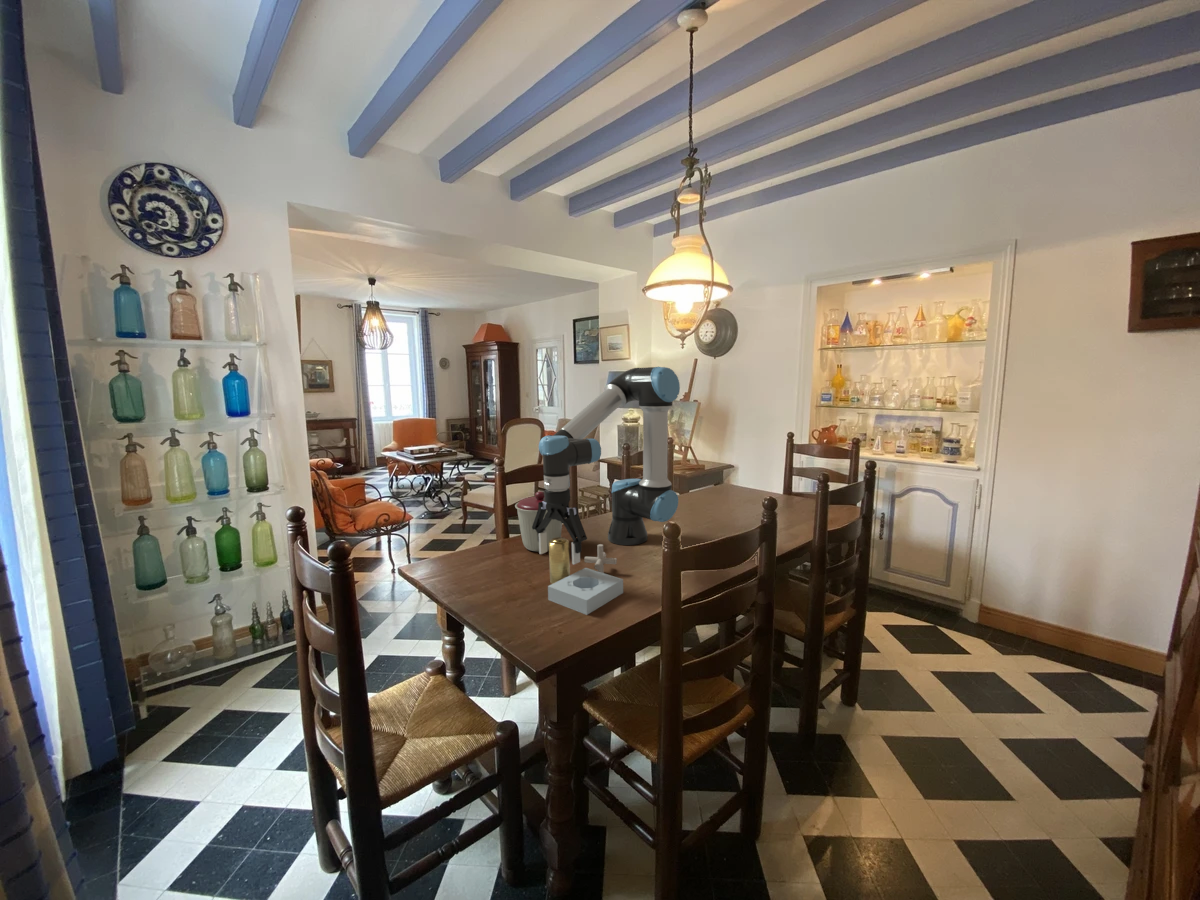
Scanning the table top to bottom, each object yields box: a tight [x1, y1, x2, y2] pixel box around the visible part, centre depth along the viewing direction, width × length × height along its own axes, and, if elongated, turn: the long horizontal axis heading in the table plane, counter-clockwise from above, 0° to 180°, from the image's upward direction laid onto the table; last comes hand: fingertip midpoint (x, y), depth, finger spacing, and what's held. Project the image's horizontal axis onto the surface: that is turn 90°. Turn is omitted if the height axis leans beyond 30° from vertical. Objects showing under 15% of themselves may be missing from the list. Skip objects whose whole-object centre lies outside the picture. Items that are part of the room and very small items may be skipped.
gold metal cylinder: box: [548, 536, 571, 585], centre depth 143 cm, size 6×6×14 cm
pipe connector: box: [583, 543, 618, 573], centre depth 149 cm, size 10×10×10 cm
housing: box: [547, 567, 624, 616], centre depth 133 cm, size 16×14×5 cm
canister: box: [514, 490, 563, 553], centre depth 174 cm, size 18×18×21 cm
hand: (559, 557), depth 143 cm, fingers open, 13 cm apart
